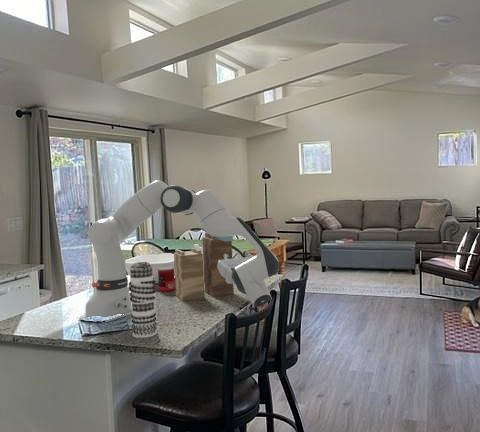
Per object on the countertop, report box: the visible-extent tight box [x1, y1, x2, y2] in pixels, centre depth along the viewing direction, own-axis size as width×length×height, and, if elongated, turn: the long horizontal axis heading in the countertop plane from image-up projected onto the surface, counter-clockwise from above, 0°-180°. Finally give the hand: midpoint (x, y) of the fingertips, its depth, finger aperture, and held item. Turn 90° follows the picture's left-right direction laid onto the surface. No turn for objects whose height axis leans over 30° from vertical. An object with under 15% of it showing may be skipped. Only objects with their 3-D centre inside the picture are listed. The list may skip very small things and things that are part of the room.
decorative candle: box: [128, 262, 158, 339], centre depth 176 cm, size 9×9×25 cm
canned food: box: [158, 266, 176, 293], centre depth 246 cm, size 8×8×11 cm
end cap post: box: [201, 232, 235, 298], centre depth 235 cm, size 12×10×28 cm
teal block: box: [205, 231, 234, 242], centre depth 231 cm, size 26×4×3 cm, turn 22°
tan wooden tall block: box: [173, 247, 206, 302], centre depth 230 cm, size 12×10×22 cm
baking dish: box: [125, 252, 175, 285], centre depth 269 cm, size 34×28×13 cm
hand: (235, 254), depth 213 cm, fingers open, 8 cm apart
